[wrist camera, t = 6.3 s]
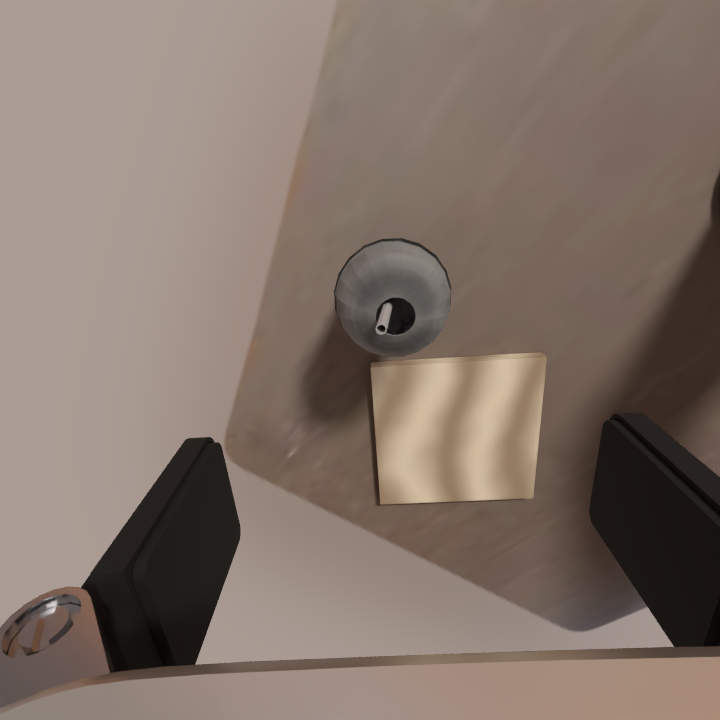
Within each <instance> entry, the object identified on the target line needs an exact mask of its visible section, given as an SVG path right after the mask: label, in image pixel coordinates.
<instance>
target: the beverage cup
mask: <svg viewBox="0 0 720 720" xmlns="http://www.w3.org/2000/svg"><path fill="white" fill-rule="evenodd" d="M334 296H335V310H336V312H337V315H338V317H339V320H340V322H341V325H342V326H343V328H344V330H345V332H346V333H347V334H348V335H349V336H350V338H351V339H352V340H353V341H354V342H355V344H357V345H359V346H360V347H362V348H363V349H365V350H366V351H368V352H370V353H373V354H377V355H380V356H384V357H403V356H406V355H409V354H412V353H415V352H418V351H420V350H421V349H423V348H424V347H425V346H427V345H428V344H430V343H431V342H433V340H434V339H435V338H436V337H437V335H438V334H439V333H440V332H441V330H442V329H443V327H444V325H445V322H446V319H447V317H448V314H449V311H450V303H451V285H450V282H449V278H448V275H447V271H446V269H445V268H444V266H443V265H442V263H441V262H440V261H439V259H438V258H437V256H436V255H435V254H434V253H432V252H431V251H429V250H428V249H427V248H425V247H424V246H422V245H421V244H419V243H416V242H412V241H409V240H406V239H402V238H397V239H381V240H378V241H376V242H373V243H370V244H368V245H365V246H363V247H362V248H361V249H359V250H358V251H357V252H356V253H354V254H353V255H352V256H351V257H349V259H348V260H347V262H346V263H345V265H344V266H343V268H342V269H341V271H340V273H339V275H338V279H337V282H336V286H335V290H334Z"/></svg>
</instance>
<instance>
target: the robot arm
mask: <svg viewBox="0 0 720 720" xmlns="http://www.w3.org/2000/svg"><path fill="white" fill-rule="evenodd" d="M589 512H590V518H591V521H592V523H593V525H594V527H595V528H596V530H597V531H598V533H599V534H600V536H601V537H602V539H603V540H604V542H605V543H606V545H607V546H608V548H609V549H610V551H611V552H612V554H613V555H614V557H615V558H616V560H617V562H618V563H619V565H620V566H621V568H622V569H623V571H624V572H625V574H626V575H627V577H628V578H629V580H630V581H631V583H632V584H633V586H634V587H635V589H636V590H637V592H638V593H639V595H640V596H641V598H642V599H643V601H644V602H645V604H646V605H647V607H648V608H649V609H650V611H651V613H652V614H653V616H654V617H655V618H656V620H657V622H658V623H659V624H660V626H661V628H662V629H663V631H664V632H665V633H666V635H667V636H668V638H669V640H670V641H671V643H672V644H673V646H674V647H662V648H661V647H660V648H623V649H590V650H589V649H588V650H553V651H523V652H492V653H463V654H435V655H406V656H378V657H353V658H329V659H304V660H280V661H257V662H256V661H255V662H235V663H219V664H202V665H195V663H196V660H197V658H198V655H199V652H200V649H201V647H202V644H203V641H204V638H205V635H206V633H207V630H208V627H209V624H210V621H211V619H212V616H213V613H214V610H215V607H216V605H217V602H218V599H219V596H220V594H221V591H222V588H223V585H224V582H225V579H226V577H227V574H228V571H229V568H230V565H231V563H232V560H233V557H234V554H235V552H236V549H237V546H238V543H239V540H240V523H239V519H238V515H237V511H236V507H235V502H234V498H233V493H232V489H231V485H230V481H229V476H228V472H227V468H226V463H225V459H224V455H223V451H222V447H221V445H220V444H219V443H214V441H213V439H212V438H210V437H206V438H189V439H186V440H185V441H184V443H183V444H182V445H181V447H180V448H179V450H178V451H177V453H176V454H175V455H174V457H173V458H172V459H171V461H170V462H169V464H168V465H167V467H166V468H165V469H164V471H163V472H162V474H161V475H160V476H159V478H158V479H157V481H156V482H155V483H154V485H153V486H152V488H151V489H150V490H149V492H148V493H147V495H146V496H145V497H144V499H143V500H142V502H141V503H140V504H139V506H138V507H137V509H136V510H135V512H134V513H133V514H132V516H131V517H130V519H129V520H128V522H127V523H126V524H125V526H124V527H123V528H122V530H121V531H120V533H119V534H118V535H117V537H116V538H115V540H114V541H113V542H112V544H111V545H110V547H109V548H108V549H107V551H106V552H105V554H104V555H103V557H102V558H101V560H100V561H99V562H98V564H97V565H96V566H95V568H94V569H93V571H92V572H91V574H90V576H89V577H88V578H87V580H86V581H85V583H84V584H83V585H82V587H81V588H79V587H64V588H60V589H55V590H52V591H50V592H47V593H45V594H42V595H40V596H38V597H37V598H35V599H33V600H32V601H30V602H28V603H27V604H25V605H24V606H23V607H21V608H20V609H19V610H17V611H16V612H15V613H14V614H12V615H11V616H10V617H9V618H8V619H7V621H6V622H5V623H4V624H3V625H2V626H1V627H0V720H720V477H719V476H718V475H716V474H715V473H714V472H713V471H712V470H710V469H709V468H708V467H707V466H706V465H704V464H703V463H702V462H701V461H700V460H698V459H697V458H696V457H695V456H693V455H692V454H691V453H690V452H689V451H687V450H686V449H685V448H684V447H683V446H681V445H680V444H679V443H678V442H677V441H675V440H674V439H673V438H672V437H671V436H669V435H668V434H667V433H666V432H664V431H663V430H662V429H661V428H660V427H658V426H657V425H656V424H655V423H654V422H652V421H651V420H650V419H649V418H648V417H646V416H645V415H644V414H642V413H623V414H614V415H612V416H611V418H610V420H607V421H605V422H604V424H603V428H602V434H601V441H600V447H599V453H598V459H597V465H596V471H595V477H594V484H593V490H592V496H591V502H590V509H589Z"/></svg>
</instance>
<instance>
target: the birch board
mask: <svg viewBox="0 0 720 720" xmlns="http://www.w3.org/2000/svg"><path fill="white" fill-rule="evenodd" d="M546 361H547V357H546V356H545V355H544V354H543V353H542V352H537V353H520V354H503V355H486V356H469V357H452V358H435V359H418V360H402V361H385V362H371V381H372V395H373V408H374V422H375V436H376V450H377V464H378V478H379V492H380V504H404V503H428V502H453V501H477V500H501V499H525V498H533V493H534V482H535V472H536V462H537V452H538V442H539V432H540V422H541V412H542V401H543V391H544V381H545V371H546Z"/></svg>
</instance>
